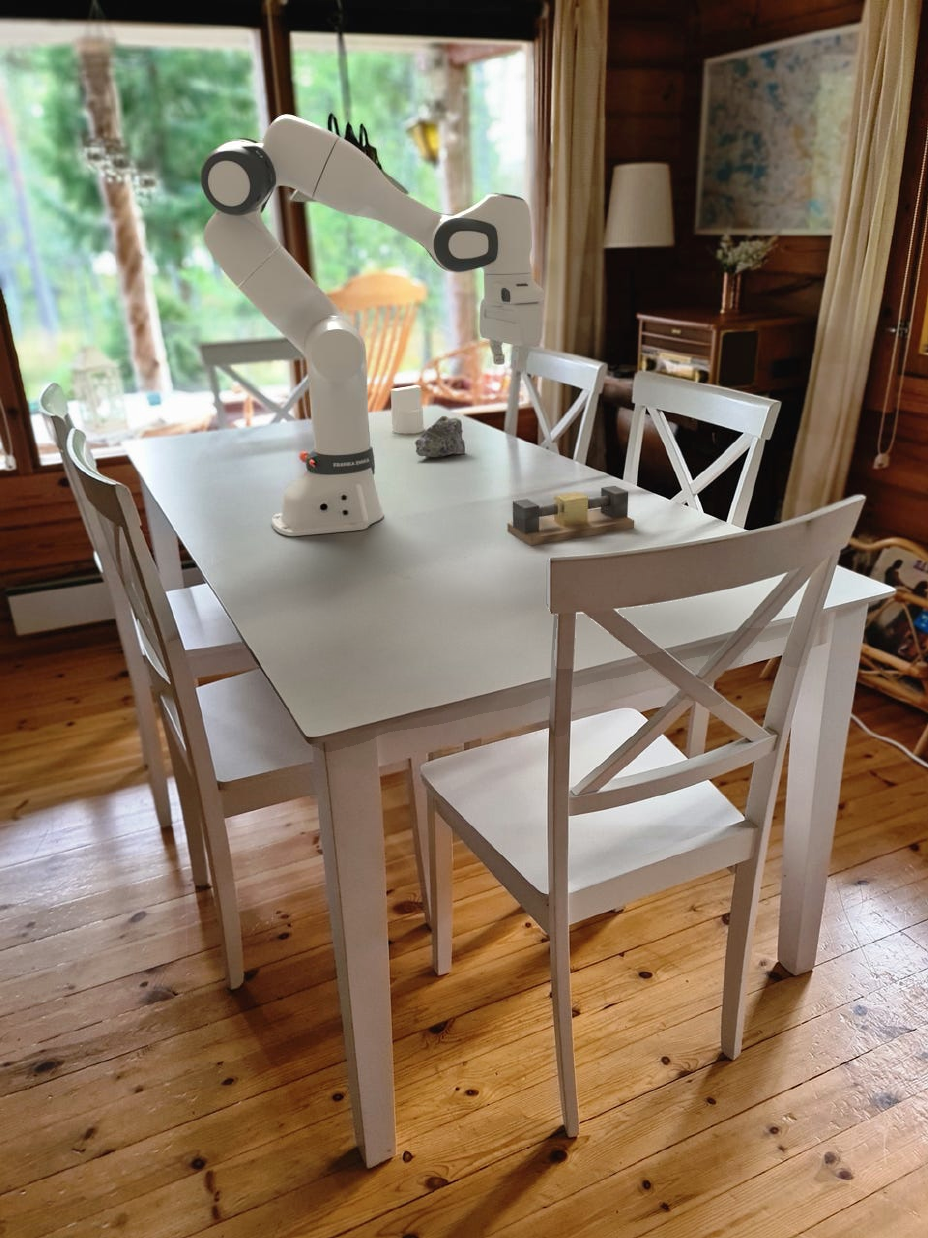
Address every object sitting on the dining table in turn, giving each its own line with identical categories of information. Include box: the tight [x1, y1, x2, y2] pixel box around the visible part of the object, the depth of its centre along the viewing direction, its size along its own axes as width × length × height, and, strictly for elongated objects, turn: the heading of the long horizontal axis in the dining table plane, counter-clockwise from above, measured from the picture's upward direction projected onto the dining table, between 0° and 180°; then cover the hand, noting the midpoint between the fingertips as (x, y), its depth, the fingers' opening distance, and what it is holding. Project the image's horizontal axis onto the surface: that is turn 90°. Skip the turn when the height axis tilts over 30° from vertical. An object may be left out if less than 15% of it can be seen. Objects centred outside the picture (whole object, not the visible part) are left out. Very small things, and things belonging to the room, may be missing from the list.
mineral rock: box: [414, 415, 466, 458], centre depth 234 cm, size 13×11×10 cm
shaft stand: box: [507, 485, 635, 547], centre depth 176 cm, size 22×10×6 cm, turn 113°
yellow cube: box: [553, 491, 589, 526], centre depth 175 cm, size 5×4×5 cm
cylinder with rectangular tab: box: [390, 384, 425, 434], centre depth 262 cm, size 9×9×12 cm
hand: (509, 367), depth 175 cm, fingers open, 8 cm apart
